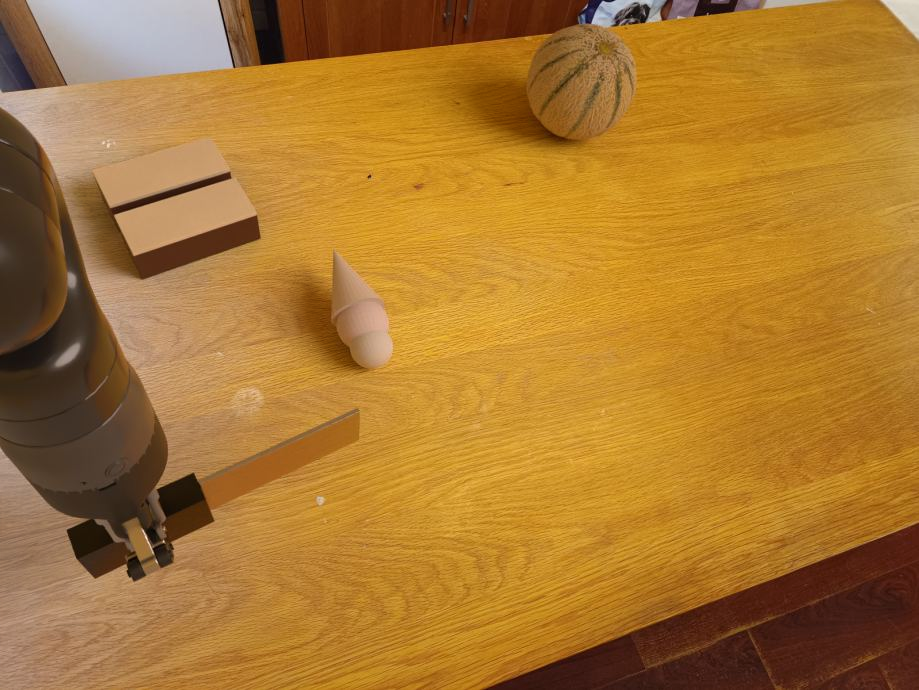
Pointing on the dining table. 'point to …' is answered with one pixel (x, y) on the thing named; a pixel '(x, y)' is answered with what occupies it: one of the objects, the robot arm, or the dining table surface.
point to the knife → (215, 491)
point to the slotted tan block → (177, 206)
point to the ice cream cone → (359, 316)
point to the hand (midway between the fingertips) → (150, 534)
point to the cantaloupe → (581, 81)
